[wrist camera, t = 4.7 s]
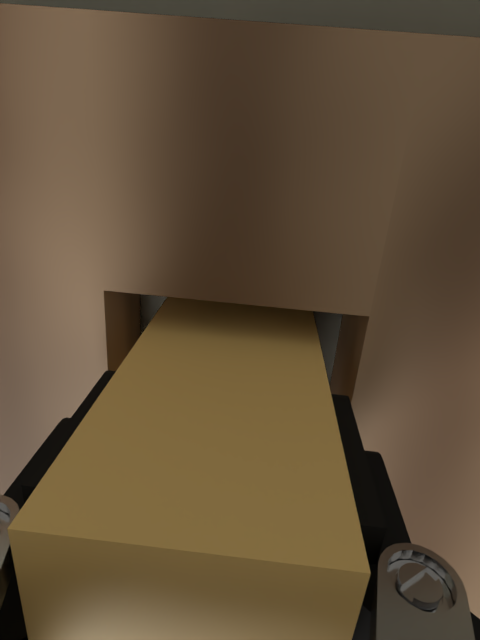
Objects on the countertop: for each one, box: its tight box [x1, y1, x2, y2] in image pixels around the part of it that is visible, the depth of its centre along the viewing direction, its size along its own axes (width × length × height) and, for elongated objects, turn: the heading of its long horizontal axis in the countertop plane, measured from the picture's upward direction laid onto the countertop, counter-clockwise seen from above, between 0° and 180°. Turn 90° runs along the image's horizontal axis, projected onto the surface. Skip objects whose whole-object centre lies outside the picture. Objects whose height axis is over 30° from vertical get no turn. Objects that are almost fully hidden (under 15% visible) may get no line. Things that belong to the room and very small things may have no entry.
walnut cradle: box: [0, 3, 480, 619], centre depth 13 cm, size 18×18×3 cm
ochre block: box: [7, 297, 371, 640], centre depth 10 cm, size 4×4×9 cm
